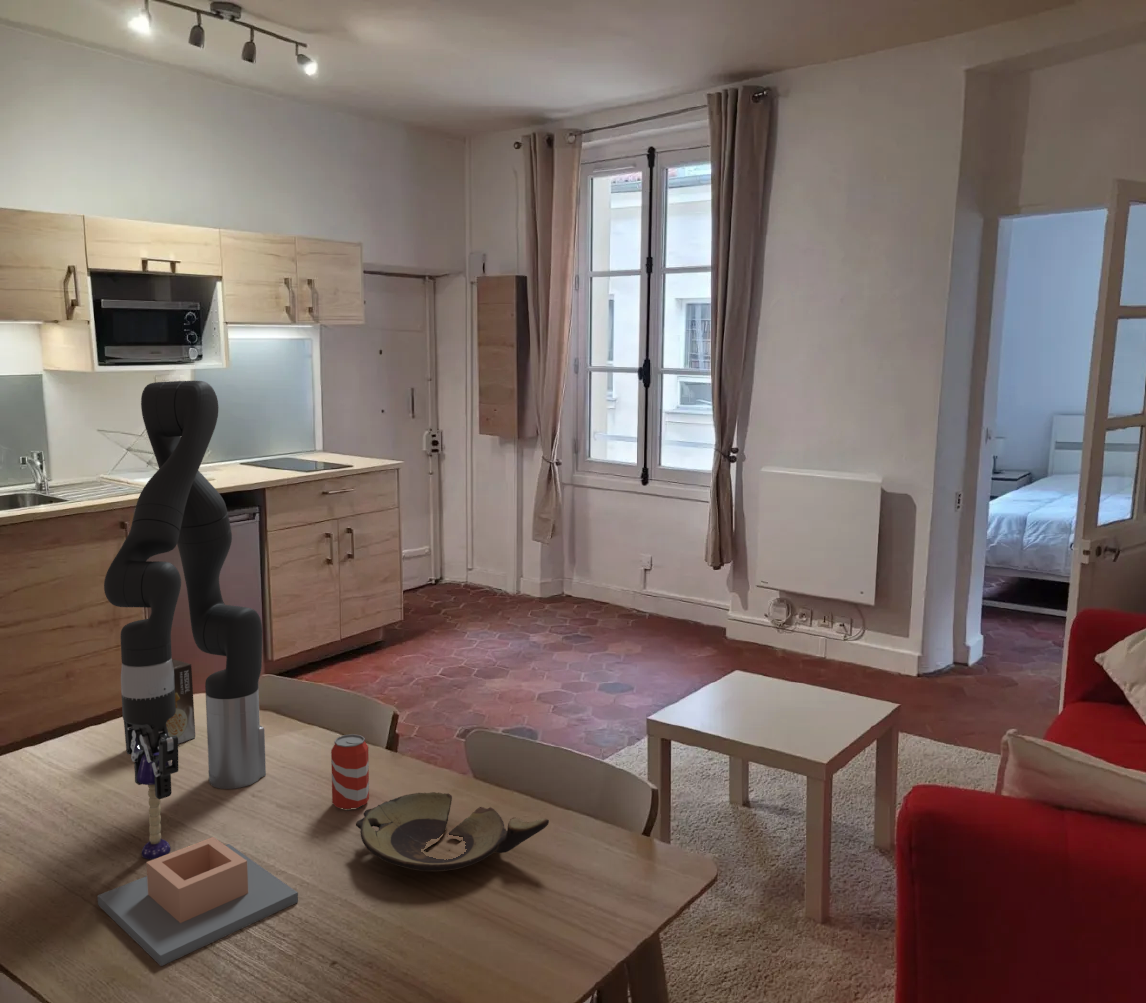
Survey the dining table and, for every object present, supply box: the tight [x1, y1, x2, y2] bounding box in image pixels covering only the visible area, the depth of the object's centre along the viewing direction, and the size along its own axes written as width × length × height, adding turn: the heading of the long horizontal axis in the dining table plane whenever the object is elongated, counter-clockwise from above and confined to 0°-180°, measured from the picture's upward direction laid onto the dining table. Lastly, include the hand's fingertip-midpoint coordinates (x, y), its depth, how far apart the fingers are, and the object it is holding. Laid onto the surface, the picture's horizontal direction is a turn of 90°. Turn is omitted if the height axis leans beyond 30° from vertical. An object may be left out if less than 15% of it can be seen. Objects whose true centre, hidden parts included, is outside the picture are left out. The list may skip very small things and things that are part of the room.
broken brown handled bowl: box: [355, 791, 550, 872], centre depth 147 cm, size 22×30×8 cm
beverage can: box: [330, 733, 370, 810], centre depth 164 cm, size 6×6×12 cm
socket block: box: [97, 836, 299, 967], centre depth 133 cm, size 20×20×6 cm
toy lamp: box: [137, 752, 171, 860], centre depth 146 cm, size 5×5×17 cm
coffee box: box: [166, 659, 196, 745], centre depth 189 cm, size 9×6×16 cm
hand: (153, 789), depth 145 cm, fingers open, 6 cm apart
